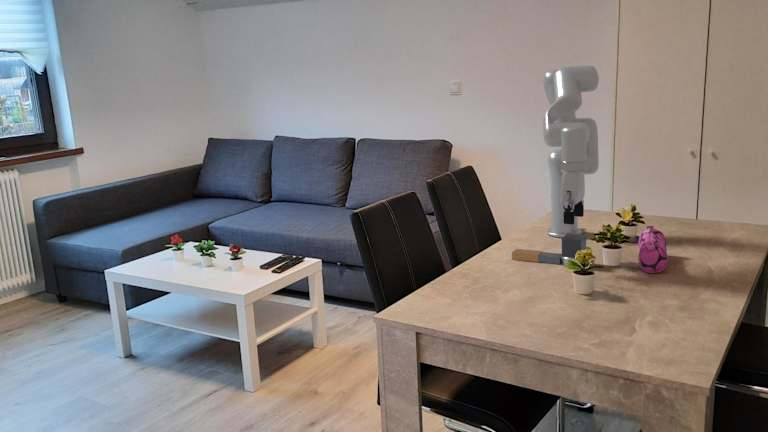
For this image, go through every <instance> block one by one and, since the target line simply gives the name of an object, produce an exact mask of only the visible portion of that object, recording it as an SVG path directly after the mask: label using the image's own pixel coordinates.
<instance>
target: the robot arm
mask: <svg viewBox="0 0 768 432" xmlns="http://www.w3.org/2000/svg"><path fill="white" fill-rule="evenodd" d="M598 86H599V72H598V70H597V68H596V67H595V66H593V65H575V66H564V67H561V68H559V69H558V68H557V69H552V70H549V71H547V72H545V73H544V75H543V87H544V88H543V89H544V91H545V92H544V93H545V94H546V97H547V100H548V103H549V105H550V106H549V107H548V108H547V110H546V111H545V113H544V115H543V119H542V129H543V130H542V133H543V141H544V144H545V145H547V146H548V147H550V148H557V147H560V148H561V149H560V148H559V149H555V150H553V151H551V152H550V153H549V155H548V158H547V161H548V162H547V163H548V170H549V177H550V202H551V203H550V210H551V211H550V212H551V214H550V215H551V216H550V219H551V222H550V223H551V225H550V228H548V229H547V231H546V233H547V235H548V236H551V237H555V238H563V237H564V236H565V235H567V234H577V235H583V231H582V230H583V229H581V228H579V225H578V224H579V223H578V221H579V217H580V218H583V217H584V211H585V210H584V209H585V207H584V198H585V190H586V189H585V186H586V185H585V175H594V174H596V173H597V171H598V169H599V164H600V163H599V162H600V161H599V160H600V159H599V130H598V125H597V122H596V120H594V119H593V118H592V117H591V118H590V117H580V118H578V117H576V111H578V110H579V109H580V108H581V106H582V103H583V97H582V93H589V92H594V91H596V89H597V88H598Z"/></svg>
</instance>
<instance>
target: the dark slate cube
mask: <svg viewBox="0 0 768 432" xmlns="http://www.w3.org/2000/svg"><path fill="white" fill-rule="evenodd" d="M585 249H586V250H587V235H586V234H581V235H577V234H567V235H565V236H564V237H561V254H562V257H569V258H575V254H576V252H577V251H578V250H585Z"/></svg>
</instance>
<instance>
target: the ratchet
mask: <svg viewBox="0 0 768 432" xmlns="http://www.w3.org/2000/svg"><path fill="white" fill-rule="evenodd" d="M511 260H513V261H522V262H531V263H540V264H541V263H543V264H552V265H553V264H554V265H562V266H564V267H566V266H565V264H566V262H567V261H568V260H575V258H569V257H562V253H556V252H548V251H547V252H545V251H543V250H534V249H521V248H515V250H513V251H512V252H511Z"/></svg>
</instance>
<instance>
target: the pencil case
mask: <svg viewBox="0 0 768 432" xmlns="http://www.w3.org/2000/svg"><path fill="white" fill-rule="evenodd" d="M645 227H646V229H645V230H643V231H642V232H641V234H639V235H634V238H633V240H634V242H638V248H639V249H638V250H639V252H638V259H637V260H638V263H639V266H640V268H641V270H643V271H644V272H646V273H647V274H657V273H658V274H659V273H660V272H663V270H665V269H666V268H667V266H668V264H669V255H668V252H667V251H668V250H667V239H666V236H665V235H664V233H663V232H662V231H660V230H659V229H657V228H655V227H654V225H652V224H651V225H646V226H645Z"/></svg>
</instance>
